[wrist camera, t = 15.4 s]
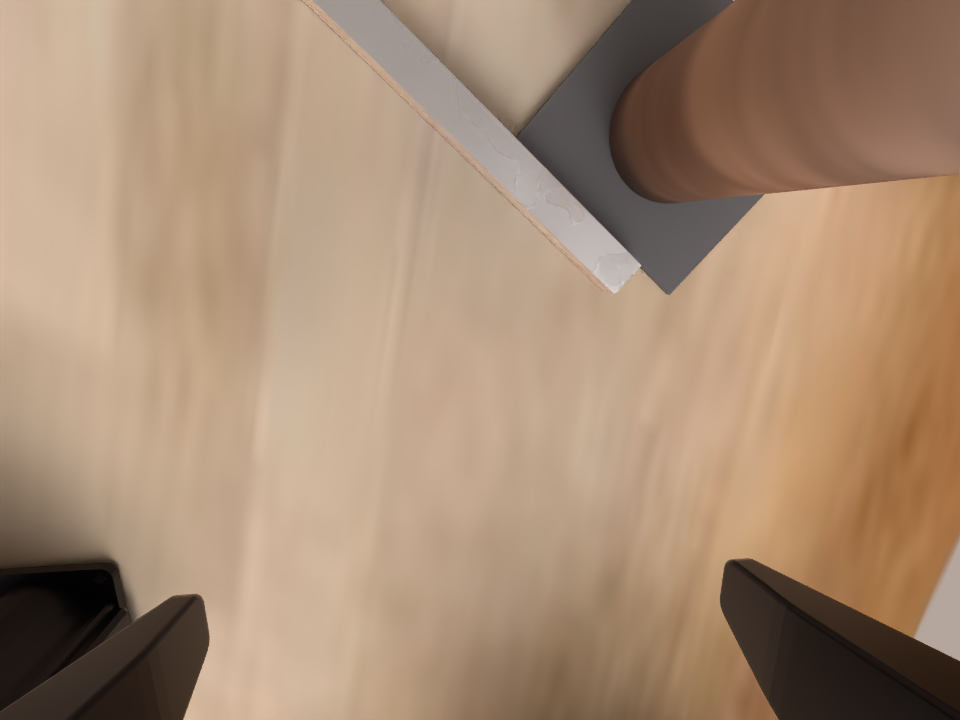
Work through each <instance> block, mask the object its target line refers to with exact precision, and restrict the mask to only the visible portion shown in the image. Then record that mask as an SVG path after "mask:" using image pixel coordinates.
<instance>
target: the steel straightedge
mask: <svg viewBox="0 0 960 720" xmlns="http://www.w3.org/2000/svg"><path fill="white" fill-rule="evenodd" d="M303 1H304V2H305V3H306V4H307V5H308V6H309V7H310V8H311V9H312V10H313V11H314V12H315V13H316V14H317V15H318V16H319V17H320V18H321V19H322V20H323V21H324V22H325V23H326V24H327V25H329V26H330V27H331V28H332V29H333V30H334V31H335V32H336V33H337V34H338V35H339V36H340V37H341V38H342V39H343V40H344V41H345V42H346V43H347V44H348V45H349V46H350V47H351V48H352V49H353V50H354V51H355V52H356V53H357V54H358V55H359V56H360V57H362V58H363V59H364V60H365V61H366V62H367V63H368V64H369V65H370V66H371V67H372V68H373V69H374V70H375V71H376V72H377V73H378V74H379V75H380V76H381V77H382V78H383V79H384V80H385V81H386V82H387V83H388V84H389V85H390V86H391V87H392V88H393V89H395V90H396V91H397V92H398V93H399V94H400V95H401V96H402V97H403V98H404V99H405V100H406V101H407V102H408V103H409V104H410V105H411V106H412V107H413V108H414V109H415V110H416V111H417V112H418V113H419V114H420V115H421V116H422V117H423V118H424V119H425V120H427V121H428V122H429V123H430V124H431V125H432V126H433V127H434V128H435V129H436V130H437V131H438V132H439V133H440V134H441V135H442V136H443V137H444V138H445V139H446V140H447V141H448V142H449V143H450V144H451V145H452V146H453V147H454V148H455V149H456V150H457V151H458V152H460V153H461V154H462V155H463V156H464V157H465V158H466V159H467V160H468V161H469V162H470V163H471V164H472V165H473V166H474V167H475V168H476V169H477V170H478V171H479V172H480V173H481V174H482V175H483V176H484V177H485V178H486V179H487V180H488V181H489V182H490V183H491V184H493V185H494V186H495V187H496V188H497V189H498V190H499V191H500V192H501V193H502V194H503V195H504V196H505V197H506V198H507V199H508V200H509V201H510V202H511V203H512V204H513V205H514V206H515V207H516V208H517V209H518V210H519V211H520V212H521V213H522V214H523V215H524V216H526V217H527V218H528V219H529V220H530V221H531V222H532V223H533V224H534V225H535V226H536V227H537V228H538V229H539V230H540V231H541V232H542V233H543V234H544V235H545V236H546V237H547V238H548V239H549V240H550V241H551V242H552V243H553V244H554V245H555V246H556V247H558V248H559V249H560V250H561V251H562V252H563V253H564V254H565V255H566V256H567V257H568V258H569V259H570V260H571V261H572V262H573V263H574V264H575V265H576V266H577V267H578V268H579V269H580V270H581V271H582V272H583V273H584V274H585V275H586V276H587V277H588V278H589V279H591V280H592V281H593V282H594V283H595V284H596V285H597V286H598V287H599V288H600V289H601V290H602V291H605V292H608V293H611V294H614V295H615V294H616V293H617V292H618V291H619V290H620V288H621V287H622V286H623V285H624V284H625V283H626V282H627V281H628V280H629V279H630V278H631V277H632V276H633V274H634V273H635V272H636V271H637V270H638V269H639V268H640V267H641V266H642V265H641V264H640V263H639V262H638V261H637V260H636V259H635V258H634V257H633V256H632V255H631V254H630V253H629V252H628V251H627V250H626V249H625V248H624V247H623V246H622V245H621V244H620V243H619V242H618V241H617V240H616V239H615V238H614V237H613V236H612V235H611V234H610V233H609V232H608V231H607V230H606V229H605V228H604V227H603V226H602V225H601V224H600V223H599V222H598V221H597V220H596V219H595V218H594V217H593V216H592V215H591V214H590V213H589V212H588V211H587V210H586V209H585V208H584V207H583V206H582V205H581V204H580V203H579V201H578V200H577V199H576V198H575V197H574V196H573V195H572V194H571V193H570V192H569V191H568V190H567V189H566V188H565V187H564V186H563V185H562V184H561V183H560V182H559V181H558V180H557V179H556V178H555V177H554V176H553V175H552V174H551V173H550V172H549V171H548V170H547V169H546V168H545V167H544V166H543V165H542V164H541V163H540V162H539V161H538V160H537V159H536V158H535V157H534V156H533V155H532V154H531V153H530V152H529V151H528V150H527V149H526V148H525V147H524V146H523V145H522V144H521V143H520V142H519V141H518V140H517V139H516V138H515V137H514V136H513V135H512V133H511V132H510V131H509V130H508V129H507V128H506V127H505V126H504V125H503V124H502V123H501V122H500V121H499V120H498V119H497V118H496V117H495V116H494V115H493V114H492V113H491V112H490V111H489V110H488V109H487V108H486V107H485V106H484V105H483V104H482V103H481V102H480V101H479V100H478V99H477V98H476V97H475V96H474V95H473V94H472V93H471V92H470V91H469V90H468V89H467V88H466V87H465V86H464V85H463V84H462V83H461V82H460V81H459V80H458V79H457V78H456V77H455V76H454V75H453V74H452V73H451V72H450V71H449V70H448V69H447V68H446V67H445V65H444V64H443V63H442V62H441V61H440V60H439V59H438V58H437V57H436V56H435V55H434V54H433V53H432V52H431V51H430V50H429V49H428V48H427V47H426V46H425V45H424V44H423V43H422V42H421V41H420V40H419V39H418V38H417V37H416V36H415V35H414V34H413V33H412V32H411V31H410V30H409V29H408V28H407V27H406V26H405V25H404V24H403V23H402V22H401V21H400V20H399V19H398V18H397V17H396V16H395V15H394V14H393V13H392V12H391V11H390V10H389V9H388V8H387V7H386V6H385V5H384V4H383V3H382V2H381V1H380V0H303Z"/></svg>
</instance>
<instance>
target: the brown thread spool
mask: <svg viewBox="0 0 960 720" xmlns="http://www.w3.org/2000/svg"><path fill="white" fill-rule="evenodd" d="M609 145H610V152H611V156H612V160H613V163H614V166H615V168H616V170H617V172H618V174H619V176H620V177H621V179H622V180H623V181H624V183H625V184H626V185H627V186H628V187H629V188H630V189H631V190H632V191H633V192H635V193H636V194H637V195H639V196H641V197H643V198H645V199H647V200H650V201H653V202H657V203H666V204H671V203H681V202H691V201H700V200H710V199H720V198H730V197H740V196H749V195H759V194H769V193H779V192H789V191H798V190H808V189H818V188H828V187H838V186H847V185H857V184H867V183H877V182H887V181H896V180H906V179H916V178H926V177H935V176H945V175H955V174H960V0H735V1H734V2H733V3H731V4H730V5H729V6H728V7H726V8H725V9H724V10H722V11H721V12H720V13H718V14H717V15H716V16H714V17H713V18H712V19H710V20H709V21H708V22H707V23H705V24H704V25H703V26H701V27H700V28H699V29H697V30H696V31H695V32H693V33H692V34H691V35H689V36H688V37H687V38H685V39H684V40H683V41H682V42H680V43H679V44H678V45H676V46H675V47H674V48H672V49H671V50H670V51H668V52H667V53H666V54H664V55H663V56H662V57H661V58H659V59H658V60H657V61H655V62H654V63H653V64H651V65H650V66H649V67H647V68H646V69H645V70H643V71H642V72H641V73H640V74H638V75H637V76H636V77H635V78H634V79H633V80H632V81H631V82H630V83H629V85H628V86H627V87H626V88H625V90H624V91H623V93H622V94H621V96H620V98H619V100H618V102H617V104H616V106H615V109H614V112H613V115H612V119H611V124H610V132H609Z"/></svg>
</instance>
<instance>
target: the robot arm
mask: <svg viewBox="0 0 960 720" xmlns="http://www.w3.org/2000/svg"><path fill="white" fill-rule="evenodd" d="M101 574H103V575H105V576H106V578H105V577H103V576H102V575H101ZM720 604H721V609H722V612H723V614H724V616H725V618H726V620H727V622H728V624H729V626H730V628H731V630H732V632H733V634H734V636H735V638H736V640H737V642H738V644H739V646H740V648H741V650H742V652H743V654H744V656H745V658H746V660H747V662H748V664H749V666H750V668H751V670H752V672H753V674H754V676H755V678H756V680H757V682H758V683H759V685H760V687H761V689H762V691H763V693H764V695H765V697H766V699H767V700H768V702H769V704H770V706H771V707H772V709H773V711H774V712H775V714H776V716H777V717H778V719H779V720H960V661H958V660H956V659H954V658H952V657H950V656H948V655H946V654H944V653H942V652H940V651H938V650H936V649H934V648H932V647H930V646H928V645H926V644H924V643H922V642H920V641H918V640H916V639H914V638H912V637H910V636H908V635H905V634H903V633H901V632H899V631H897V630H895V629H893V628H891V627H889V626H887V625H885V624H883V623H881V622H879V621H877V620H875V619H873V618H871V617H869V616H867V615H865V614H863V613H861V612H859V611H857V610H855V609H853V608H851V607H849V606H846V605H844V604H842V603H840V602H838V601H836V600H834V599H832V598H830V597H828V596H826V595H824V594H822V593H820V592H818V591H816V590H814V589H812V588H810V587H808V586H806V585H804V584H802V583H800V582H798V581H796V580H794V579H792V578H789V577H787V576H785V575H783V574H781V573H779V572H777V571H775V570H773V569H771V568H769V567H767V566H765V565H763V564H761V563H759V562H757V561H755V560H753V559H748V558H746V559H731V560H729V561H727V562H726V564H725V567H724V573H723V580H722V587H721V594H720ZM208 647H209V629H208V623H207V617H206V611H205V605H204V601H203V598H202V597H201V596H200V595H198V594H188V595H176V596H172V597H170V598H169V599H167V600H166V601H164V602H163V603H161V604H160V605H158V606H157V607H155V608H154V609H152V610H151V611H149V612H148V613H146V614H145V615H143V616H142V617H140V618H139V619H137V620H136V621H134V622H133V623H131V622H130V617H129V613H128V611H127V608H126V603H125V599H124V594H123V589H122V585H121V580H120V575H119V572H118V569H117V568H116V567H115V566H114V565H112V564H109V563H97V564H81V565H64V566H47V567H30V568H13V569H0V720H183V719H184V716H185V713H186V710H187V708H188V705H189V702H190V699H191V696H192V694H193V691H194V688H195V685H196V682H197V680H198V677H199V674H200V671H201V668H202V665H203V663H204V660H205V657H206V654H207V651H208Z"/></svg>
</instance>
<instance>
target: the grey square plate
mask: <svg viewBox="0 0 960 720" xmlns="http://www.w3.org/2000/svg"><path fill="white" fill-rule="evenodd" d="M731 3H733V1H732V0H633V1H632V2H631V3H630V4H629V5H628V6H627V8H626V9H625V10H624V11H623V12H622V14H621V15H620V16H619V17H618V18H617V19H616V21H615V22H614V23H613V24H612V25H611V26H610V28H609V29H608V30H607V31H606V32H605V34H604V35H603V36H602V37H601V38H600V39H599V41H598V42H597V43H596V44H595V45H594V47H593V48H592V49H591V50H590V51H589V52H588V54H587V55H586V56H585V57H584V58H583V60H582V61H581V62H580V63H579V64H578V65H577V67H576V68H575V69H574V70H573V71H572V72H571V74H570V75H569V76H568V77H567V78H566V80H565V81H564V82H563V83H562V84H561V85H560V87H559V88H558V89H557V90H556V91H555V93H554V94H553V95H552V96H551V97H550V98H549V100H548V101H547V102H546V103H545V104H544V105H543V107H542V108H541V109H540V110H539V111H538V113H537V114H536V115H535V116H534V117H533V118H532V120H531V121H530V122H529V123H528V124H527V126H526V127H525V128H524V129H523V130H522V131H521V133H520V134H519V135H518V136H517V137H516V139H517V140H518V141H519V142H520V143H521V144H522V145H523V146H524V147H525V148H526V149H527V150H528V151H529V152H530V153H531V154H532V155H533V156H534V157H535V158H536V159H537V160H538V161H539V162H540V163H541V164H542V165H543V166H544V167H545V168H546V169H547V170H548V171H549V172H550V173H551V174H552V175H553V176H554V177H555V178H556V179H557V180H558V181H559V182H560V183H561V184H562V185H563V186H564V187H565V188H566V189H567V190H568V191H569V192H570V193H571V194H572V195H573V196H574V197H575V198H576V199H577V200H578V201H579V203H580V204H581V205H582V206H583V207H584V208H585V209H586V210H587V211H588V212H589V213H590V214H591V215H592V216H593V217H594V218H595V219H596V220H597V221H598V222H599V223H600V224H601V225H602V226H603V227H604V228H605V229H606V230H607V231H608V232H609V233H610V234H611V235H612V236H613V237H614V238H615V239H616V240H617V241H618V242H619V243H620V244H621V245H622V246H623V247H624V248H625V249H626V250H627V251H628V252H629V253H630V254H631V255H632V256H633V257H634V258H635V259H636V260H637V261H638V262H639V263H640V264H641V265H642V266H641V267H640V268H641V269H642V270H643V271H644V272H645V273H646V274H647V275H648V276H649V277H650V278H651V279H652V280H653V281H654V282H655V283H656V284H657V285H658V286H659V287H660V288H661V289H662V290H663V291H664V292H665V293H666V294H669V295H670V294H671V293H672V292H673V290H674V289H675V288H676V287H677V286H678V285H679V284H680V283H681V282H682V281H683V280H684V279H685V278H686V277H687V276H688V275H689V274H690V272H691V271H692V270H693V269H694V268H695V267H696V266H697V265H698V264H699V263H700V262H701V261H702V260H703V259H704V258H705V257H706V256H707V254H708V253H709V252H710V251H711V250H712V249H713V248H714V247H715V246H716V245H717V244H718V243H719V242H720V241H721V240H722V239H723V237H724V236H725V235H726V234H727V233H728V232H729V231H730V230H731V229H732V228H733V227H734V226H735V225H736V224H737V223H738V222H739V221H740V219H741V218H742V217H743V216H744V215H745V214H746V213H747V212H748V211H749V210H750V209H751V208H752V207H753V206H754V205H755V204H756V203H757V201H758V200H759V199H760V198H761V197H762V196H763V195H764V194H759V195H749V196H740V197H730V198H720V199H710V200H700V201H691V202H681V203H671V204H666V203H657V202H653V201H650V200H647V199H645V198H643V197H641V196H639V195H637V194H636V193H635V192H633V191H632V190H631V189H630V188H629V187H628V186H627V185H626V184H625V183H624V181H623V180H622V179H621V177H620V176H619V174H618V172H617V170H616V168H615V166H614V163H613V160H612V156H611V152H610V145H609V132H610V124H611V119H612V115H613V112H614V109H615V106H616V104H617V102H618V100H619V98H620V96H621V94H622V93H623V91H624V90H625V88H626V87H627V86H628V85H629V83H630V82H631V81H632V80H633V79H634V78H635V77H636V76H637V75H638V74H640V73H641V72H642V71H643V70H645V69H646V68H647V67H649V66H650V65H651V64H653V63H654V62H655V61H657V60H658V59H659V58H661V57H662V56H663V55H664V54H666V53H667V52H668V51H670V50H671V49H672V48H674V47H675V46H676V45H678V44H679V43H680V42H682V41H683V40H684V39H685V38H687V37H688V36H689V35H691V34H692V33H693V32H695V31H696V30H697V29H699V28H700V27H701V26H703V25H704V24H705V23H707V22H708V21H709V20H710V19H712V18H713V17H714V16H716V15H717V14H718V13H720V12H721V11H722V10H724V9H725V8H726V7H728V6H729V5H730V4H731Z"/></svg>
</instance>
